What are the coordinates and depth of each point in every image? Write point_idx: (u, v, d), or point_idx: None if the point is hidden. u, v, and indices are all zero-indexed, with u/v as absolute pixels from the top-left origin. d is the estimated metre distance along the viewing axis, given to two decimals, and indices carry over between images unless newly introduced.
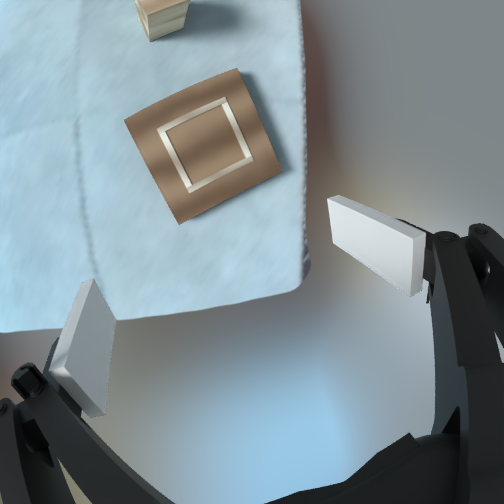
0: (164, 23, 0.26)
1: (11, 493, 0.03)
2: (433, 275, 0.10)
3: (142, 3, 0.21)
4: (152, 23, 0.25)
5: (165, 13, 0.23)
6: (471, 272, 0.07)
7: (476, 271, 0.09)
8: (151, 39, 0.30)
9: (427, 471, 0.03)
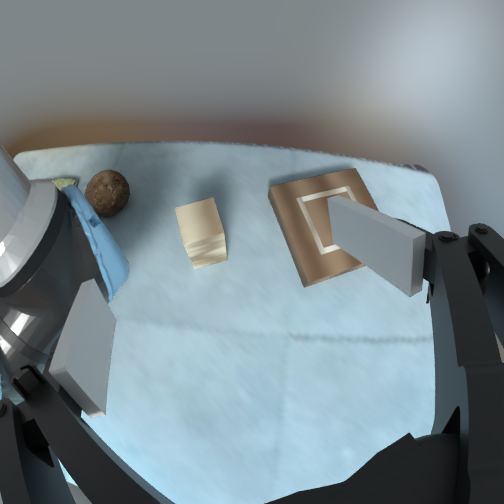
0: None
1: (11, 493, 0.03)
2: (433, 275, 0.10)
3: (208, 235, 0.34)
4: None
5: None
6: (471, 272, 0.07)
7: (476, 270, 0.09)
8: None
9: (427, 470, 0.03)
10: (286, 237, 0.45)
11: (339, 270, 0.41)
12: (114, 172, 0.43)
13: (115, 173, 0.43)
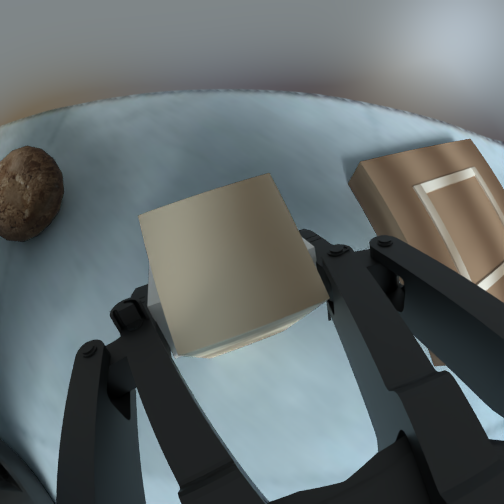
0: None
1: (73, 443, 0.05)
2: (330, 292, 0.11)
3: (273, 317, 0.09)
4: None
5: None
6: (373, 283, 0.08)
7: (378, 286, 0.10)
8: None
9: (427, 471, 0.03)
10: None
11: None
12: (32, 149, 0.17)
13: (33, 151, 0.17)
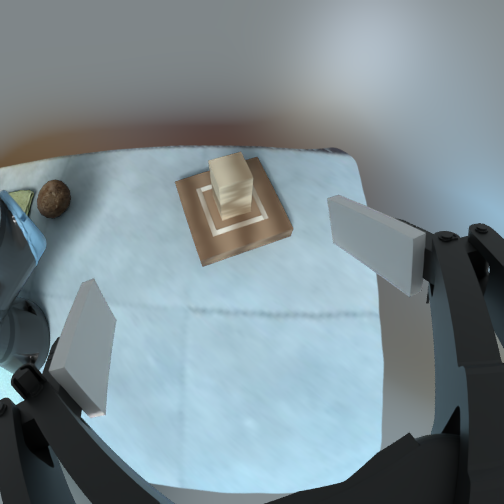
0: None
1: (11, 493, 0.03)
2: (433, 275, 0.10)
3: (240, 180, 0.40)
4: None
5: None
6: (471, 272, 0.07)
7: (476, 270, 0.09)
8: None
9: (427, 471, 0.03)
10: None
11: (230, 249, 0.47)
12: (57, 181, 0.49)
13: (58, 182, 0.49)
